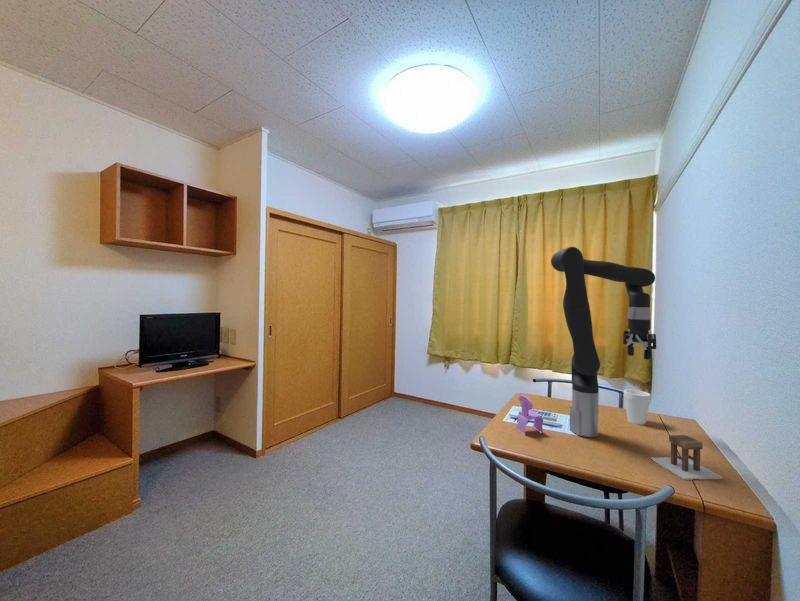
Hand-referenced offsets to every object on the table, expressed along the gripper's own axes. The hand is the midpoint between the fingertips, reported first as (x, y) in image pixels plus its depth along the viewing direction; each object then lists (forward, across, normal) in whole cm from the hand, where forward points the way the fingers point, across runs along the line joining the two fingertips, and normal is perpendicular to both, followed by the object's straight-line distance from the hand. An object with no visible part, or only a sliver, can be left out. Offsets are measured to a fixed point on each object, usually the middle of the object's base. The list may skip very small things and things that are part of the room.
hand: (638, 357), depth 131 cm
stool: (+30, -30, +9) cm, 43 cm away
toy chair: (+30, 0, +46) cm, 55 cm away
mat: (+30, -30, +9) cm, 43 cm away
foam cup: (+30, +8, -6) cm, 32 cm away
